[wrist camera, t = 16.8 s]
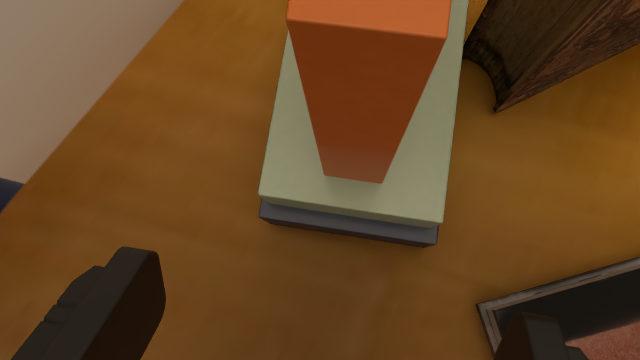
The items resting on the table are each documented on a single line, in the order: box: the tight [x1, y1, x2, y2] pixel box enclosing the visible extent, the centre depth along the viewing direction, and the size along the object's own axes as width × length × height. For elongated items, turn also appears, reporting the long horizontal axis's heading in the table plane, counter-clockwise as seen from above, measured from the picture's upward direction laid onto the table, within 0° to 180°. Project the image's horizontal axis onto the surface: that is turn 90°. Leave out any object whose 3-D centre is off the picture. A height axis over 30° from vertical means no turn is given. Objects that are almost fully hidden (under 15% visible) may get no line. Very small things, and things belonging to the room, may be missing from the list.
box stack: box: [258, 0, 469, 248], centre depth 33 cm, size 12×20×9 cm, turn 171°
